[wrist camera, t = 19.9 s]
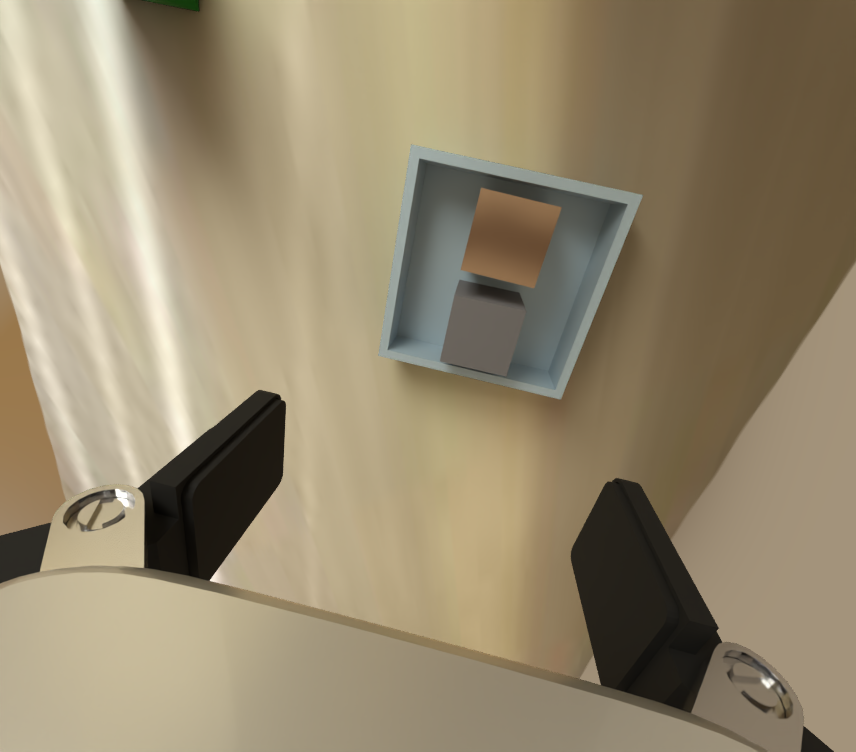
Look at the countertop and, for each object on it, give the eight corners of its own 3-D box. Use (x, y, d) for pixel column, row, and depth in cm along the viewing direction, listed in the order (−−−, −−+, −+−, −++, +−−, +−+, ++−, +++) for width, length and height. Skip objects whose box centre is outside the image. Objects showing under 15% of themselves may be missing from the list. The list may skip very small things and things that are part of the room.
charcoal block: (459, 279, 38) (454, 295, 31) (519, 292, 37) (526, 311, 31) (446, 336, 40) (439, 361, 34) (502, 348, 40) (506, 376, 34)
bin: (421, 152, 34) (410, 144, 30) (620, 195, 34) (643, 195, 29) (390, 338, 42) (378, 355, 37) (551, 376, 41) (560, 399, 37)
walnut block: (481, 190, 34) (481, 187, 28) (547, 206, 34) (561, 207, 28) (464, 258, 37) (460, 269, 30) (525, 273, 37) (534, 288, 30)
